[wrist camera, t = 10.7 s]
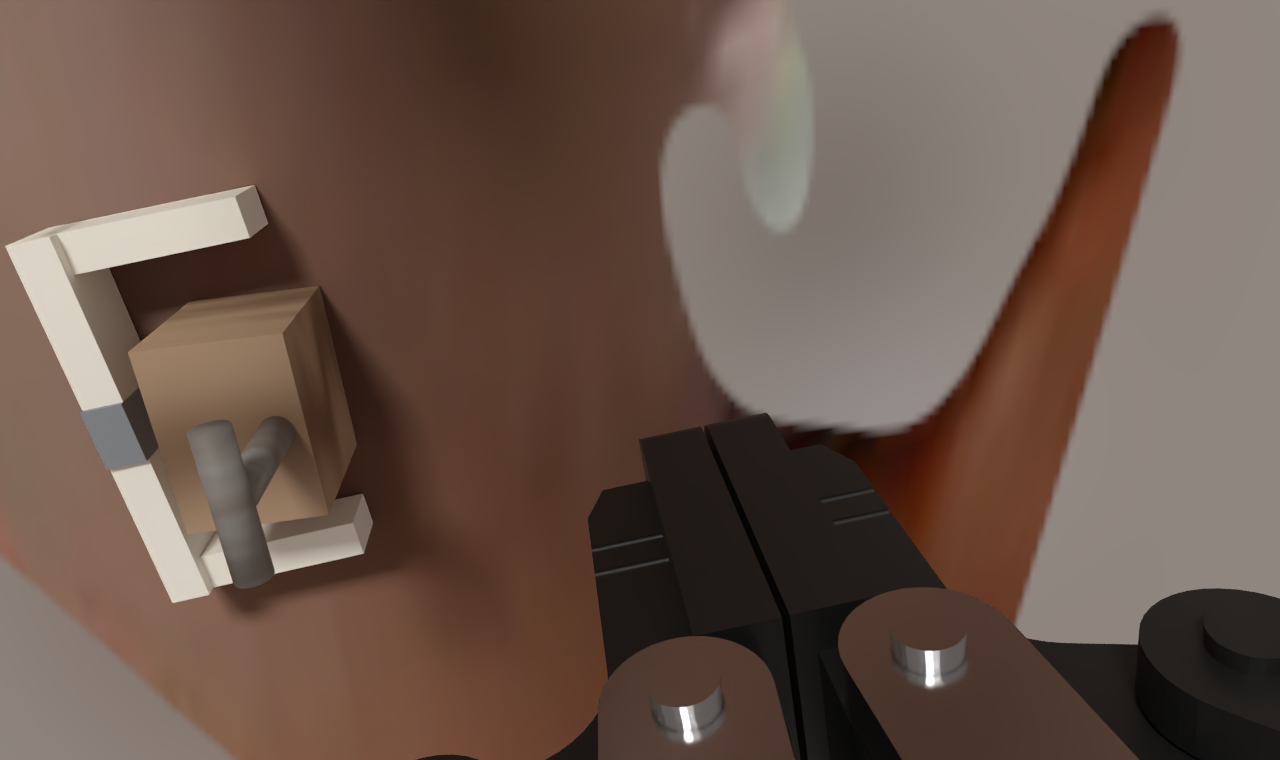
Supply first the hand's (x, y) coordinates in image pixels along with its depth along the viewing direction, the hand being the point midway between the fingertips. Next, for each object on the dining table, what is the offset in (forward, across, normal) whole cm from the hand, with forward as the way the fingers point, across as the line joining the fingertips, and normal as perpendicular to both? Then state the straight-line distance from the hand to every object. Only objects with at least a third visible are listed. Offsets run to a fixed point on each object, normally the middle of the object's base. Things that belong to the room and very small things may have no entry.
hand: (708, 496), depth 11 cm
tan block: (+26, +14, +6) cm, 31 cm away
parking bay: (+26, +16, +6) cm, 31 cm away
